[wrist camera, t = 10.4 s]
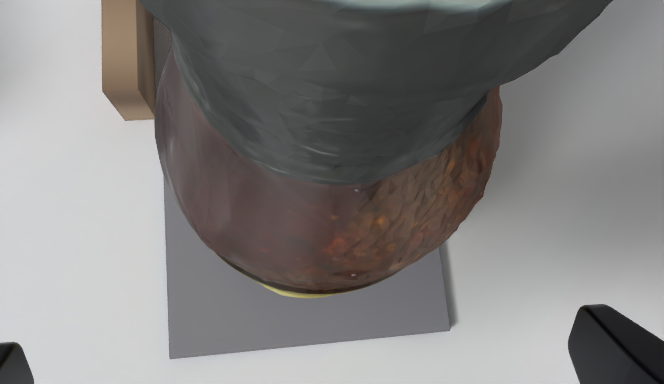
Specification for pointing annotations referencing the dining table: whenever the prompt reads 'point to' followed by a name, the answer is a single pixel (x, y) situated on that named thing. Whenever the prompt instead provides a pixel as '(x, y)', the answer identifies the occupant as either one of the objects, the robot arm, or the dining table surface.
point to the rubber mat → (284, 303)
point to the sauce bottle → (340, 125)
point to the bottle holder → (128, 58)
